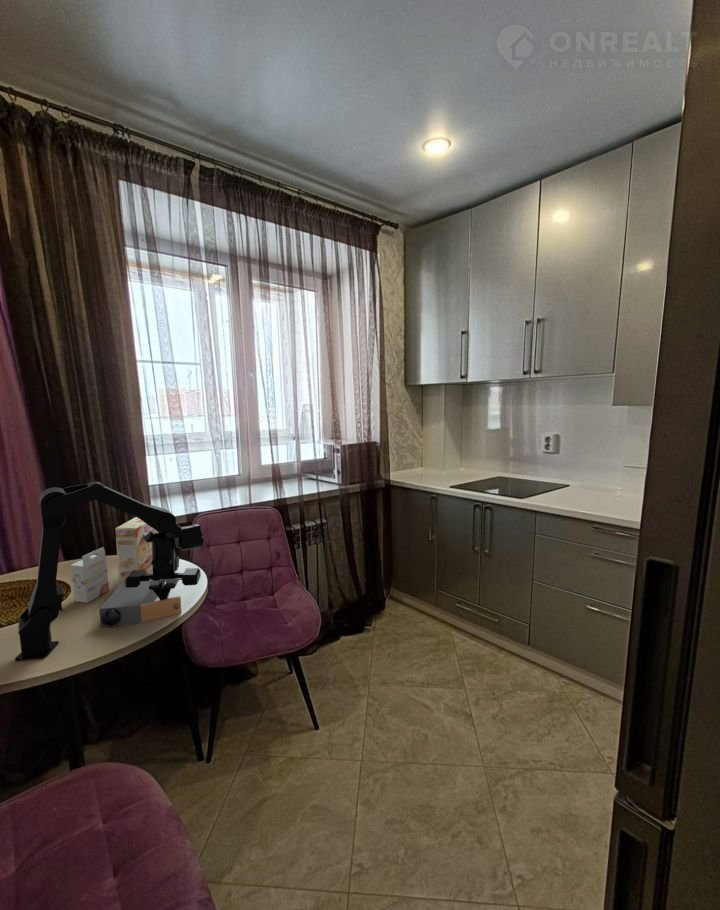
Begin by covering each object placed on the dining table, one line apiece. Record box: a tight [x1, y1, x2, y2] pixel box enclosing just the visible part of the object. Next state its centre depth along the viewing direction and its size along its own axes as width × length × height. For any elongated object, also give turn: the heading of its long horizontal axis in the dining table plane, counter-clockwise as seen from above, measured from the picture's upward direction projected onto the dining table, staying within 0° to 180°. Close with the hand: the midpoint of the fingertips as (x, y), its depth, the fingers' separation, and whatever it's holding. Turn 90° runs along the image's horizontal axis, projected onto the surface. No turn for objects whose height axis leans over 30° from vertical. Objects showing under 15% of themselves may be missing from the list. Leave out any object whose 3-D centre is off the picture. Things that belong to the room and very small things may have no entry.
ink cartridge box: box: [70, 546, 110, 604], centre depth 128 cm, size 9×5×15 cm, turn 168°
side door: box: [141, 595, 182, 623], centre depth 116 cm, size 10×2×5 cm, turn 121°
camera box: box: [98, 578, 158, 627], centre depth 122 cm, size 21×10×5 cm, turn 10°
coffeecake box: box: [114, 516, 159, 586], centre depth 142 cm, size 15×7×20 cm, turn 1°
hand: (164, 605), depth 119 cm, fingers closed
